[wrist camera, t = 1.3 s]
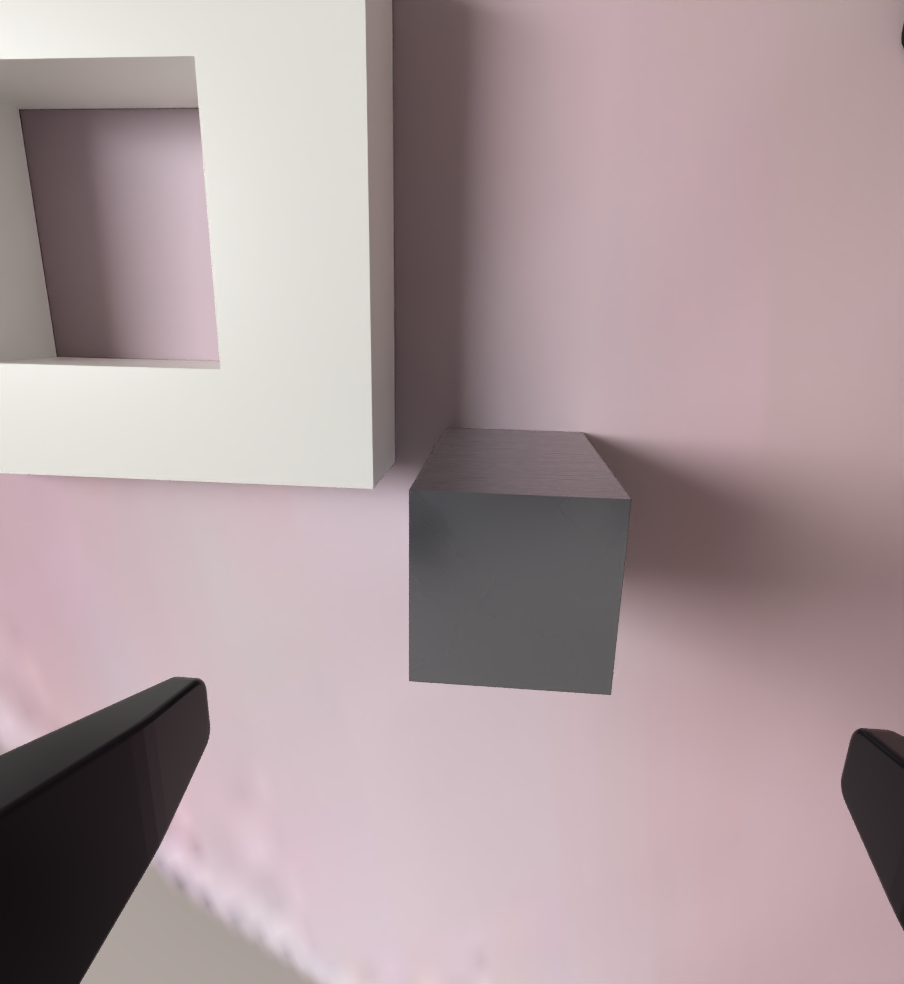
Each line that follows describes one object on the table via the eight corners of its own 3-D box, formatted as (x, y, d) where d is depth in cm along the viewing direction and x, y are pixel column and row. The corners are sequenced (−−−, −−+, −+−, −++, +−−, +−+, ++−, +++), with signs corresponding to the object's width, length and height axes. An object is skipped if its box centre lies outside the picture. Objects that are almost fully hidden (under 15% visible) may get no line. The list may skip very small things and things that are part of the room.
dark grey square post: (582, 432, 20) (631, 499, 12) (572, 559, 21) (610, 694, 13) (446, 427, 20) (409, 490, 12) (444, 552, 21) (409, 681, 14)
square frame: (392, -26, 17) (363, -117, 13) (395, 462, 20) (373, 488, 17) (-133, -12, 18) (-280, -91, 15) (-40, 445, 22) (-140, 467, 18)
